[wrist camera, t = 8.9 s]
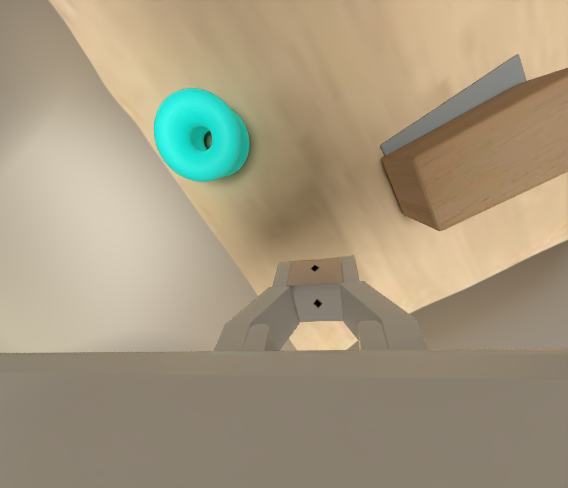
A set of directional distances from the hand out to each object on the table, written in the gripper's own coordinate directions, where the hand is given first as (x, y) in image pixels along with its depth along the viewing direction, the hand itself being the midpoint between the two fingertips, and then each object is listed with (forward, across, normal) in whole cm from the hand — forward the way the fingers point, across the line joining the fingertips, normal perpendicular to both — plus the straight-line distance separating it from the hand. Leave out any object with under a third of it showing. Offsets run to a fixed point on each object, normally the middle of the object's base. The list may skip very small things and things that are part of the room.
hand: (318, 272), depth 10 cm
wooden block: (+26, -11, +7) cm, 29 cm away
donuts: (+30, +15, -4) cm, 33 cm away
